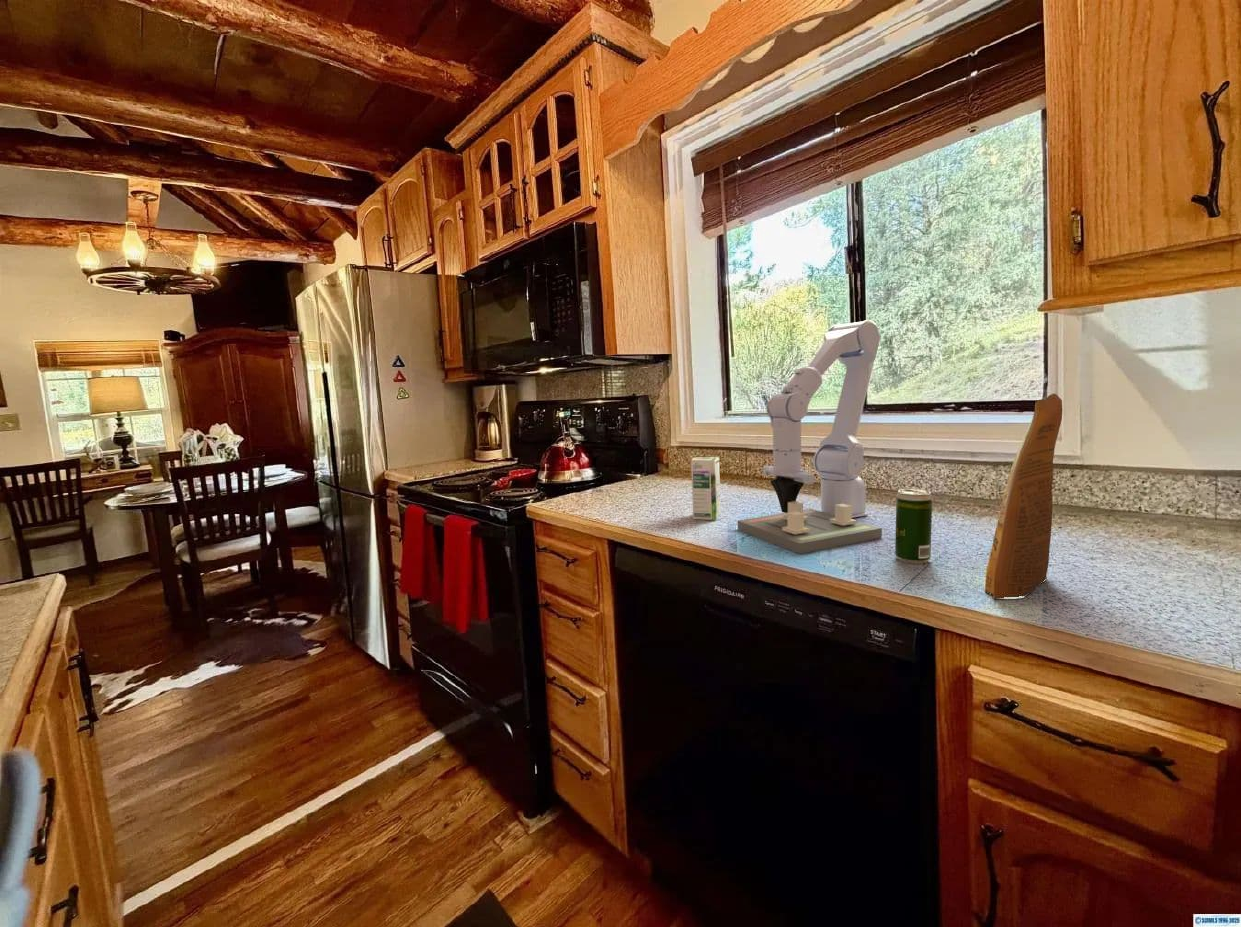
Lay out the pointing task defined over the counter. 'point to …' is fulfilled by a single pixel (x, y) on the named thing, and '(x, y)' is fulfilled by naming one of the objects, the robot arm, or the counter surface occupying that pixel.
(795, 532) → the breaker handle
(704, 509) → the syrup box
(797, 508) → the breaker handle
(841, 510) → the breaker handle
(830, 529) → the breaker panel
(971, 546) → the counter surface
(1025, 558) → the pancake mix bag
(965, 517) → the counter surface
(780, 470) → the robot arm
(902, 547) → the beer can
